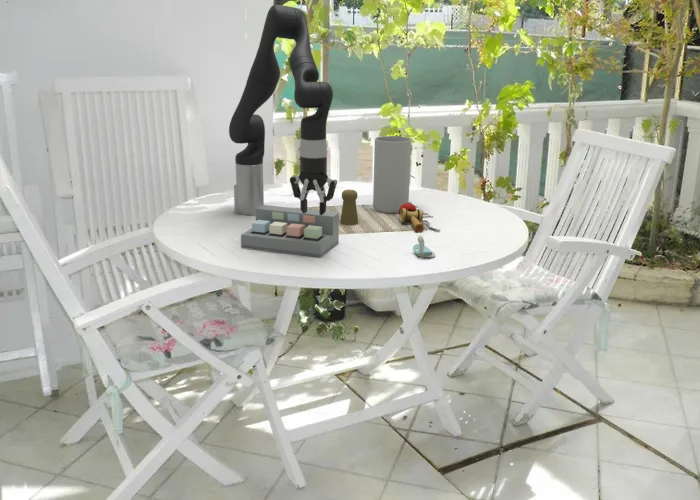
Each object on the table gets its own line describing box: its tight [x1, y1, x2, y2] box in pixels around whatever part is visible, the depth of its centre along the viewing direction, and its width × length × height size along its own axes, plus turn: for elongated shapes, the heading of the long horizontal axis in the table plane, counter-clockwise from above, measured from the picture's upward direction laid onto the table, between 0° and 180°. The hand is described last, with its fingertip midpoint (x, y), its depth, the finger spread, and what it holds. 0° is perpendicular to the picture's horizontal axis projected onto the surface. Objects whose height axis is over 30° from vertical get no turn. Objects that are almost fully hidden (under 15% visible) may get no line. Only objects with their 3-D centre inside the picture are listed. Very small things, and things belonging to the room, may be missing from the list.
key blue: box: [251, 220, 270, 235], centre depth 223 cm, size 4×4×4 cm
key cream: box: [269, 222, 287, 237], centre depth 222 cm, size 4×4×4 cm
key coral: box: [287, 224, 305, 239], centre depth 220 cm, size 4×4×4 cm
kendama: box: [398, 202, 425, 233], centre depth 248 cm, size 8×6×18 cm
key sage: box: [304, 225, 322, 241], centre depth 218 cm, size 4×4×4 cm
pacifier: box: [412, 234, 436, 259], centre depth 217 cm, size 7×6×6 cm
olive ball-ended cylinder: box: [339, 189, 359, 226], centre depth 248 cm, size 6×6×11 cm
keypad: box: [240, 204, 340, 259], centre depth 223 cm, size 25×15×10 cm, turn 71°
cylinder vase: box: [372, 135, 412, 214], centre depth 263 cm, size 12×12×25 cm
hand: (313, 213), depth 216 cm, fingers open, 4 cm apart
